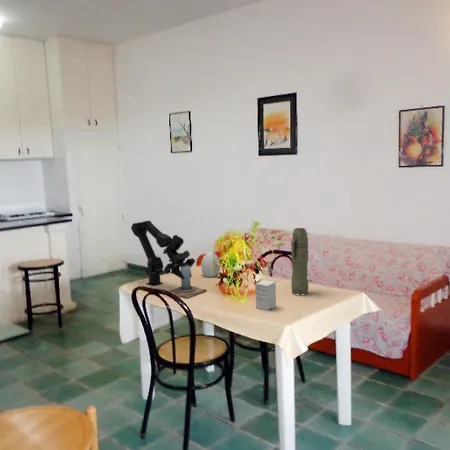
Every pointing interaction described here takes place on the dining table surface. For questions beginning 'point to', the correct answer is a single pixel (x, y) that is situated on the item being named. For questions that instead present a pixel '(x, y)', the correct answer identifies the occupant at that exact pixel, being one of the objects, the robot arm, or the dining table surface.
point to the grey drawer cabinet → (265, 294)
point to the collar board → (188, 292)
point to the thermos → (299, 261)
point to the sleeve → (185, 277)
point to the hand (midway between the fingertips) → (187, 278)
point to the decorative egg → (210, 265)
